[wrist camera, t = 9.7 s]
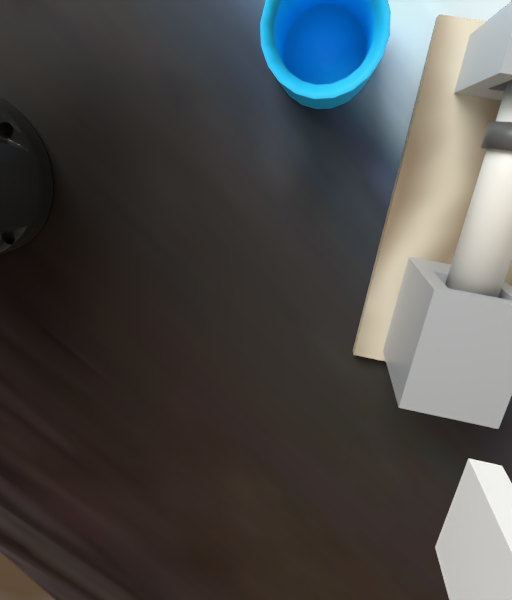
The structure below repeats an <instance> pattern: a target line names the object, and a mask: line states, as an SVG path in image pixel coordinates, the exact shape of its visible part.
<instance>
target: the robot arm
mask: <svg viewBox="0 0 512 600" xmlns="http://www.w3.org/2000/svg"><path fill="white" fill-rule="evenodd" d="M52 200H53V176H52V170H51V165H50V161H49V158H48V155H47V152H46V150H45V148H44V145H43V143H42V141H41V139H40V138H39V136H38V134H37V133H36V131H35V130H34V128H33V127H32V125H31V124H30V123H29V122H28V121H27V119H26V118H25V117H24V116H23V115H22V114H21V113H20V112H19V111H18V110H17V109H15V108H14V107H13V106H12V105H10V104H9V103H7V102H6V101H4V100H3V99H1V98H0V254H3V253H6V252H10V251H13V250H15V249H18V248H20V247H22V246H24V245H26V244H27V243H28V242H30V241H31V240H32V239H33V238H34V237H35V236H36V235H37V234H38V233H39V232H40V230H41V229H42V227H43V226H44V224H45V222H46V220H47V218H48V215H49V213H50V209H51V205H52ZM435 548H436V552H437V556H438V560H439V563H440V567H441V571H442V574H443V578H444V582H445V585H446V589H447V593H448V596H449V600H512V483H511V481H510V479H509V478H508V476H507V474H506V472H505V470H504V469H503V467H502V466H501V465H496V464H492V463H487V462H483V461H478V460H474V459H469V458H468V461H467V464H466V466H465V469H464V472H463V474H462V477H461V480H460V482H459V485H458V488H457V490H456V493H455V496H454V498H453V501H452V504H451V506H450V509H449V512H448V514H447V517H446V520H445V522H444V525H443V528H442V530H441V533H440V536H439V538H438V541H437V544H436V546H435Z"/></svg>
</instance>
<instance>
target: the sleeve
mask: <svg viewBox="0 0 512 600" xmlns="http://www.w3.org/2000/svg"><path fill="white" fill-rule="evenodd" d="M450 267H451V264H446V263H440V262H435V261H430V260H424V259H419V258H413V257H409V258H408V261H407V265H406V269H405V272H404V276H403V279H402V283H401V287H400V290H399V294H398V298H397V301H396V305H395V309H394V312H393V316H392V319H391V323H390V327H389V330H388V334H387V338H386V341H385V345H384V348H383V353H384V356H385V360H386V364H387V367H388V371H389V374H390V378H391V382H392V385H393V389H394V392H395V396H396V400H397V403H398V407H399V408H403V409H407V410H412V411H417V412H421V413H426V414H431V415H435V416H440V417H445V418H449V419H454V420H459V421H463V422H468V423H473V424H477V425H482V426H487V427H491V428H496V429H499V426H500V424H501V421H502V419H503V416H504V413H505V411H506V408H507V406H508V403H509V401H510V398H511V396H512V286H510V285H509V284H507V283H506V282H505V281H504V282H503V285H502V288H501V291H500V294H499V296H498V298H497V297H491V296H486V295H481V294H476V293H470V292H465V291H460V290H455V289H449V288H448V287H447V286H446V285H445V283H446V280H447V277H448V273H449V270H450Z"/></svg>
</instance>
